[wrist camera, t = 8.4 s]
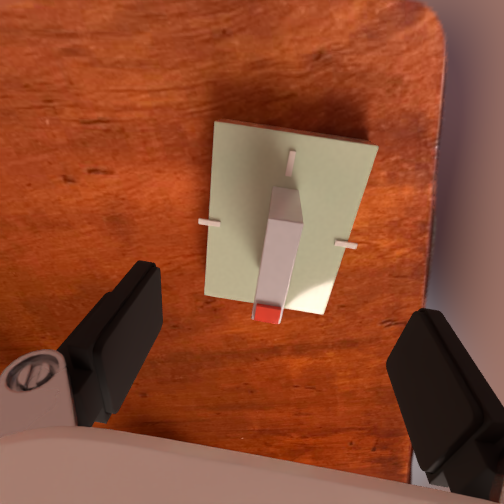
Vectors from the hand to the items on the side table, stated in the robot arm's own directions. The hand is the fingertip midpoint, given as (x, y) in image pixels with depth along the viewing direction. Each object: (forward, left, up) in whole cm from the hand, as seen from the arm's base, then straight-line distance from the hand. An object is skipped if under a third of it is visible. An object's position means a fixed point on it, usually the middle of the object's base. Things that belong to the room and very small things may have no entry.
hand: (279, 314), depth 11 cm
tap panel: (+1, 0, -11) cm, 11 cm away
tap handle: (+1, 0, -8) cm, 9 cm away
